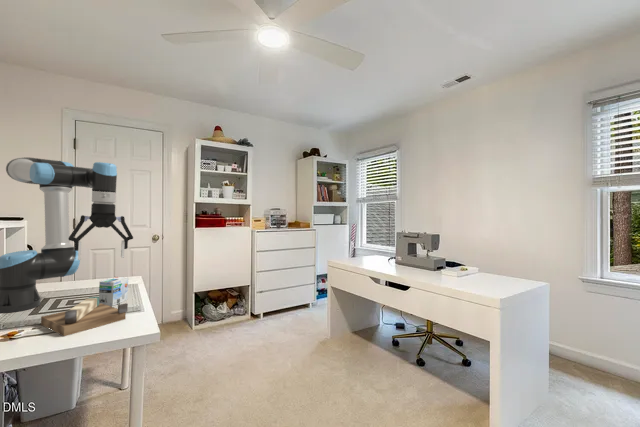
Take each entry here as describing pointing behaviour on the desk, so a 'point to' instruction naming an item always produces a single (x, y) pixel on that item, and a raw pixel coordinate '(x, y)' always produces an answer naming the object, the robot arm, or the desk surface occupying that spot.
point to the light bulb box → (113, 291)
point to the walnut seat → (85, 319)
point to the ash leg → (81, 310)
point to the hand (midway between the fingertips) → (101, 258)
